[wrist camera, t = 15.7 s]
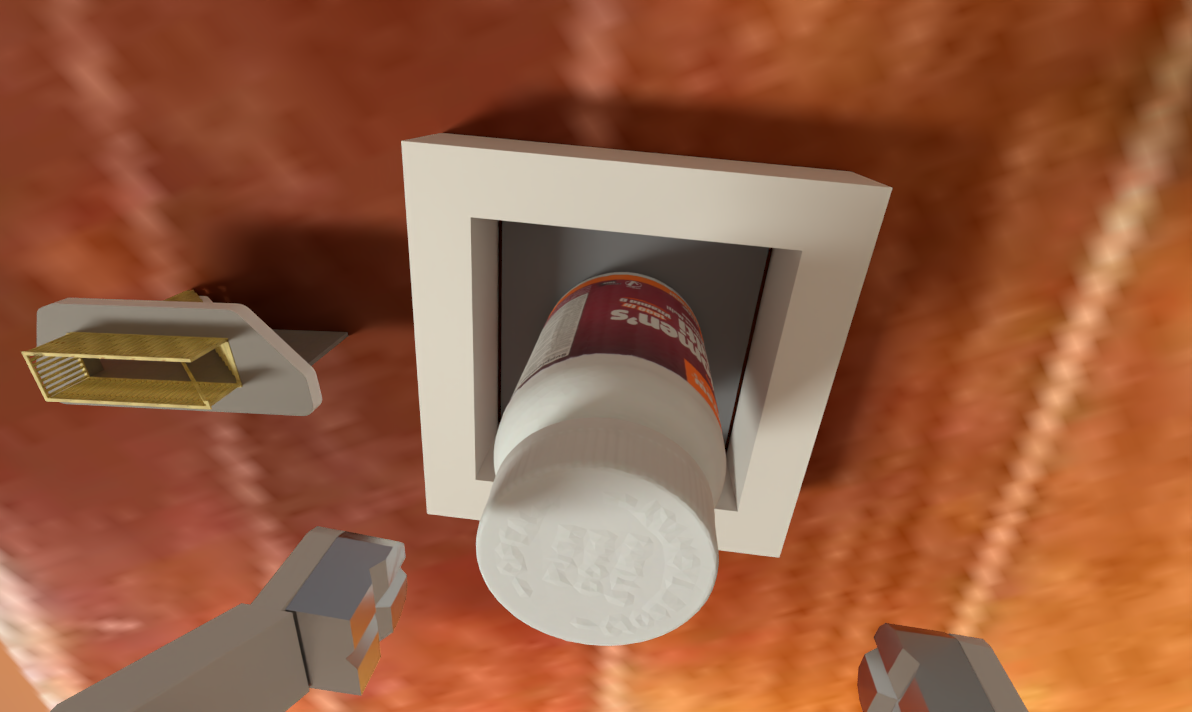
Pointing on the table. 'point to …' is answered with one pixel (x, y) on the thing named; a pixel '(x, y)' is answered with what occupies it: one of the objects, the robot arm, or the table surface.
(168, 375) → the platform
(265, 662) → the robot arm
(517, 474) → the pill bottle
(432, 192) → the holder block
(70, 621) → the table surface
